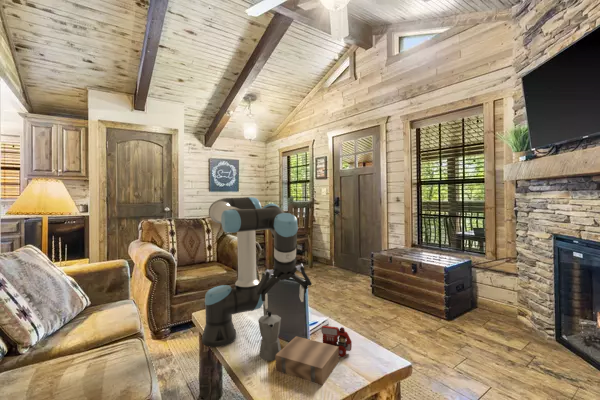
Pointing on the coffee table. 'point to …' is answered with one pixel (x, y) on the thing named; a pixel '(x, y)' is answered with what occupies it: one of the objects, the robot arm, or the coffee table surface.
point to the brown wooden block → (307, 360)
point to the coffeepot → (269, 336)
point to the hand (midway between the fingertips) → (283, 302)
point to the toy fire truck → (332, 338)
